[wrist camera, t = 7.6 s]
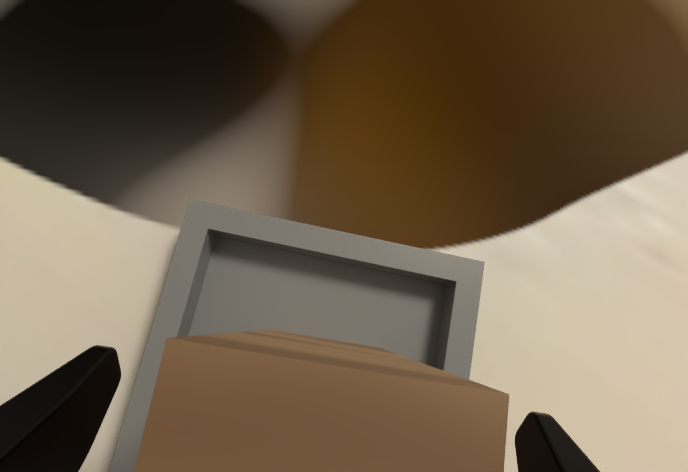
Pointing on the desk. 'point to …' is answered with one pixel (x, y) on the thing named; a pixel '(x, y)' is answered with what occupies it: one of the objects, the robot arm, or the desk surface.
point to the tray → (305, 296)
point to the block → (314, 409)
